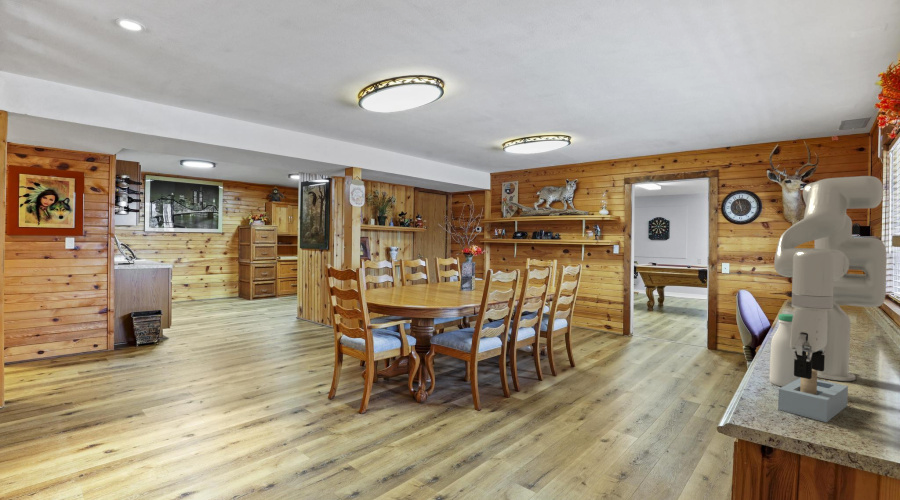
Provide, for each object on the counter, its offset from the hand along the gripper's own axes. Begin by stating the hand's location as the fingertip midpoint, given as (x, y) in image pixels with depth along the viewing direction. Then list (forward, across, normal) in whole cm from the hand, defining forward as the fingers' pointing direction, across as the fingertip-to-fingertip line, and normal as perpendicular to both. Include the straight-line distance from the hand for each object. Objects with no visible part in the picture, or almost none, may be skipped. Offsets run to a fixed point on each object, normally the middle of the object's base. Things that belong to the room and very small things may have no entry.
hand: (809, 373), depth 104 cm
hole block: (+9, -4, 0) cm, 10 cm away
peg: (+9, +1, 0) cm, 9 cm away
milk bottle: (+10, -20, -10) cm, 24 cm away
